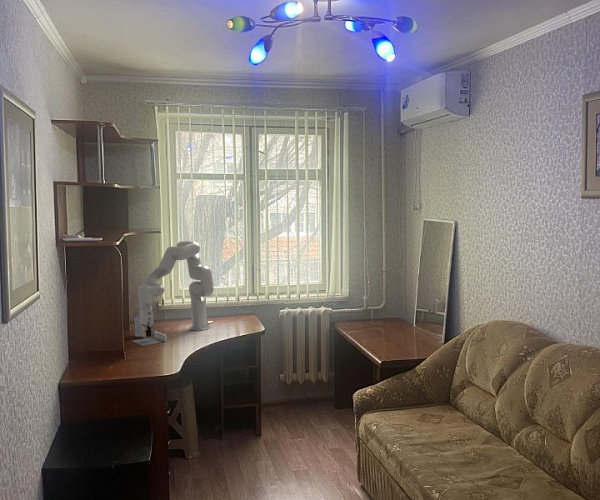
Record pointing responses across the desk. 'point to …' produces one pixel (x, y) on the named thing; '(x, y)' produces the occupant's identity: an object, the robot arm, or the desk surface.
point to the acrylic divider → (160, 336)
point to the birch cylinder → (144, 331)
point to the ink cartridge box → (139, 328)
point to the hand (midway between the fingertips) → (146, 335)
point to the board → (147, 341)
